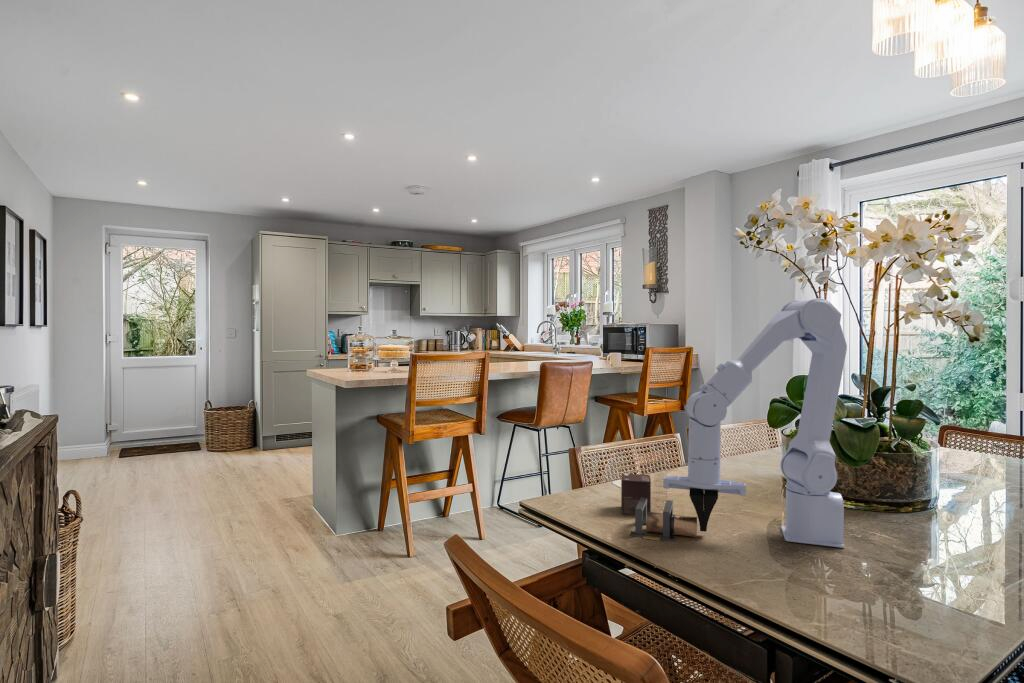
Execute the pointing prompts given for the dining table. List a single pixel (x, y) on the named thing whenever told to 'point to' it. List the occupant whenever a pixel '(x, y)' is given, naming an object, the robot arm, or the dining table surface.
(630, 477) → the box
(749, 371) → the robot arm
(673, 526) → the tube
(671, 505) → the dark grey support bracket
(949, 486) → the dining table surface
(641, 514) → the collar
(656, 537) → the index mark
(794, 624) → the dining table surface
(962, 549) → the dining table surface
